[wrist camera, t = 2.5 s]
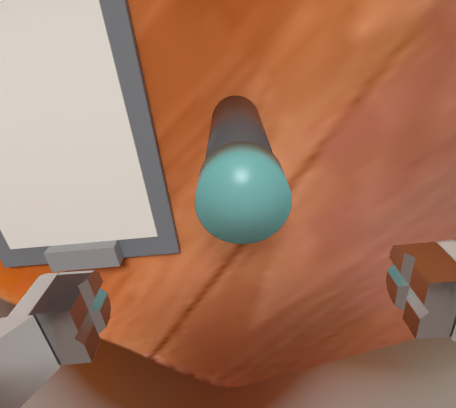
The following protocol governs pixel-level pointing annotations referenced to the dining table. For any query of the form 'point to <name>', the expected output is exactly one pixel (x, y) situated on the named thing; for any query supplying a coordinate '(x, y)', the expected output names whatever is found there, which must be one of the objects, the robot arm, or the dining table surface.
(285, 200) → the marker
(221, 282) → the dining table surface
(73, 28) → the clipboard
